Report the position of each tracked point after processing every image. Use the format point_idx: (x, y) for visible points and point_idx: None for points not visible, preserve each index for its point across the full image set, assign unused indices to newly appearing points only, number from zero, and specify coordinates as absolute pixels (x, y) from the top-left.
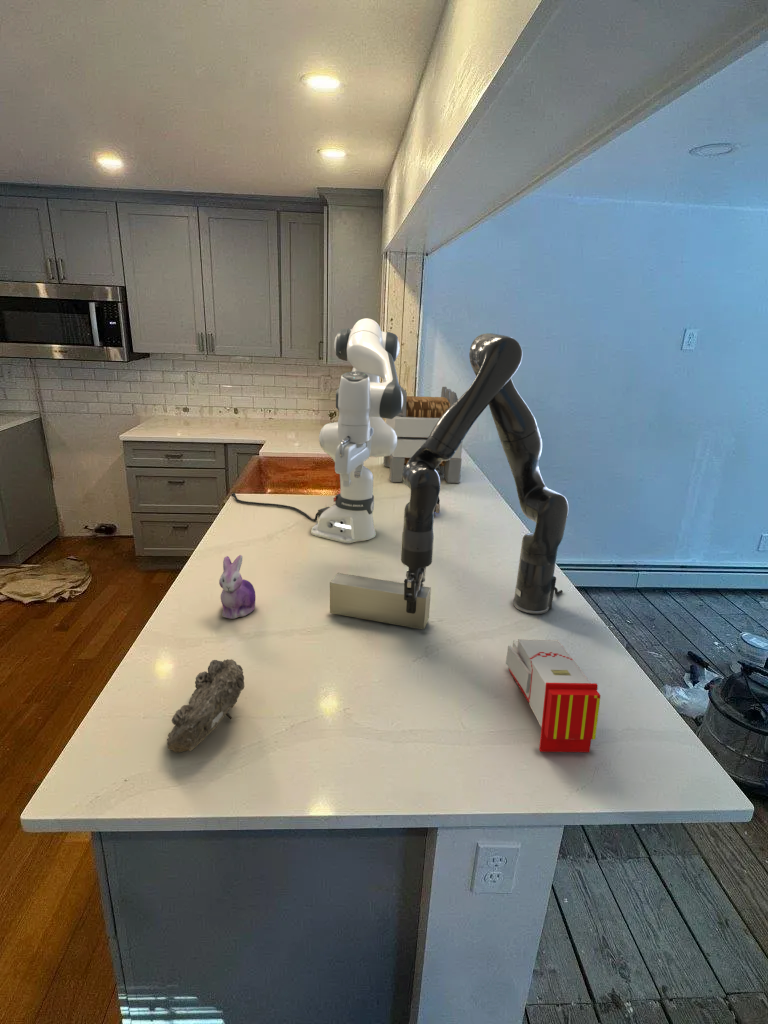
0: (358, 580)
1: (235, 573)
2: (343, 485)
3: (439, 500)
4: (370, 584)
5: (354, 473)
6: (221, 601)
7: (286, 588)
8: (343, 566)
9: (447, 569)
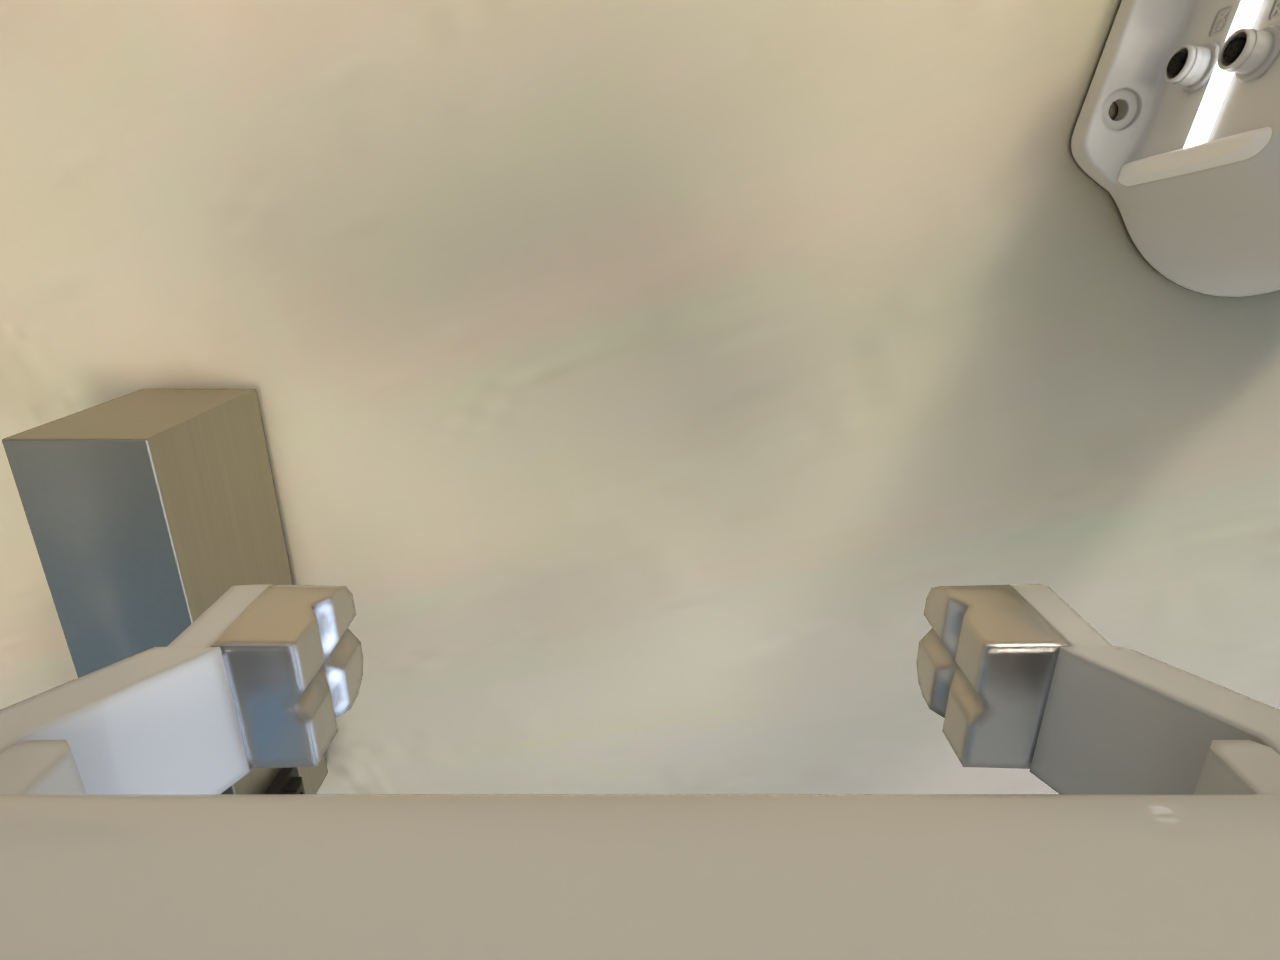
0: (125, 582)
1: None
2: (234, 593)
3: None
4: (119, 653)
5: (970, 624)
6: None
7: (278, 15)
8: (705, 251)
9: (838, 749)
